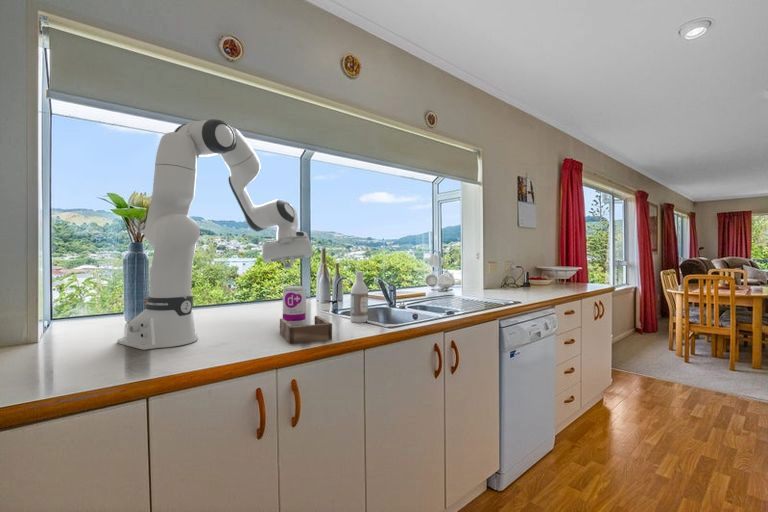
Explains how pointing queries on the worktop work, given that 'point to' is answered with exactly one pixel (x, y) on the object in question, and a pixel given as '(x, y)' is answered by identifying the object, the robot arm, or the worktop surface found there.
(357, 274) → the bath foam
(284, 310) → the supplement can
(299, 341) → the bay
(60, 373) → the worktop surface
